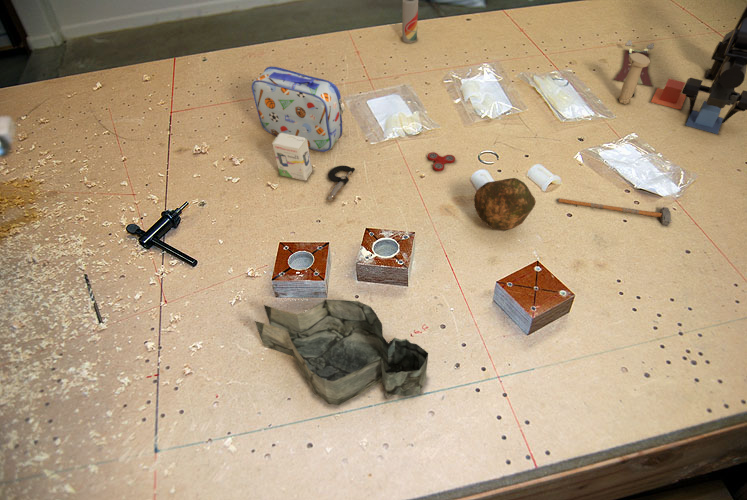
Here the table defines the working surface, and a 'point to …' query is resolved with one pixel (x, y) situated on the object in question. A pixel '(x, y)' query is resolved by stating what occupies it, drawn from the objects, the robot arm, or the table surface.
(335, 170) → the micrometer
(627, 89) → the handle
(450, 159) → the fidget spinner
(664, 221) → the sledgehammer
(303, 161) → the ink box
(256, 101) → the lunch box
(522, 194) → the rock
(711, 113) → the blue block
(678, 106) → the orange square mat
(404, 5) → the spray bottle
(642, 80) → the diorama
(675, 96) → the red block
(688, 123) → the blue mat
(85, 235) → the table surface
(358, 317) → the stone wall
